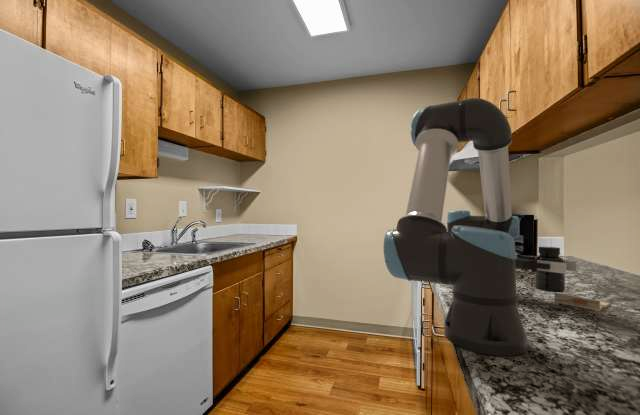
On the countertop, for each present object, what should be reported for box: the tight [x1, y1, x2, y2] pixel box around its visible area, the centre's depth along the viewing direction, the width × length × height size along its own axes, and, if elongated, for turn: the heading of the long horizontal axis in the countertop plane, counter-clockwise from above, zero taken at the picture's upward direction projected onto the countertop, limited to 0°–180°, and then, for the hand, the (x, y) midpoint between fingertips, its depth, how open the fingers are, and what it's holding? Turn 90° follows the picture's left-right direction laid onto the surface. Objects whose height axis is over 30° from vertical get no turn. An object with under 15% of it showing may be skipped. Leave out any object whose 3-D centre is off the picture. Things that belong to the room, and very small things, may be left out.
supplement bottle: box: [534, 246, 566, 293], centre depth 86 cm, size 7×7×12 cm
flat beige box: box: [553, 292, 612, 312], centre depth 89 cm, size 10×10×3 cm
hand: (571, 267), depth 82 cm, fingers closed on supplement bottle, 7 cm apart
